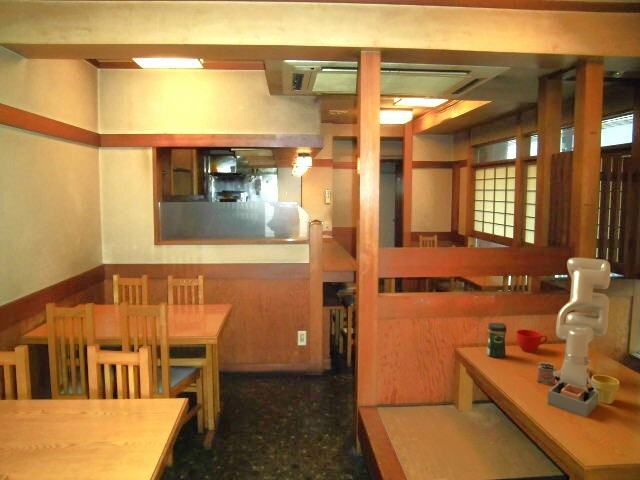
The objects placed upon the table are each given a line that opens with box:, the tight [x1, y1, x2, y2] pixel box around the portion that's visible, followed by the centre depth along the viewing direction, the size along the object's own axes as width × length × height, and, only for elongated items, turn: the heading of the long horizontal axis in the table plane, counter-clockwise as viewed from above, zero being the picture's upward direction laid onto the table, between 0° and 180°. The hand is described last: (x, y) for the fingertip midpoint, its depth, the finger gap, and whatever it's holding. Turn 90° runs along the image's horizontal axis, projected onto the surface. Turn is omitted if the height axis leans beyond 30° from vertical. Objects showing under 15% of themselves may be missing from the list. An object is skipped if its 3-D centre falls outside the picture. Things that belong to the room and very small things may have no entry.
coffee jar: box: [486, 322, 507, 358], centre depth 243 cm, size 10×8×19 cm
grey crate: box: [546, 382, 599, 418], centre depth 189 cm, size 15×15×6 cm
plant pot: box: [591, 374, 621, 405], centre depth 193 cm, size 10×10×10 cm
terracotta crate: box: [561, 384, 585, 402], centre depth 189 cm, size 9×7×6 cm
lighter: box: [535, 361, 557, 386], centre depth 210 cm, size 8×3×10 cm, turn 71°
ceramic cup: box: [515, 329, 548, 353], centre depth 251 cm, size 13×17×10 cm
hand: (573, 396), depth 189 cm, fingers open, 9 cm apart
